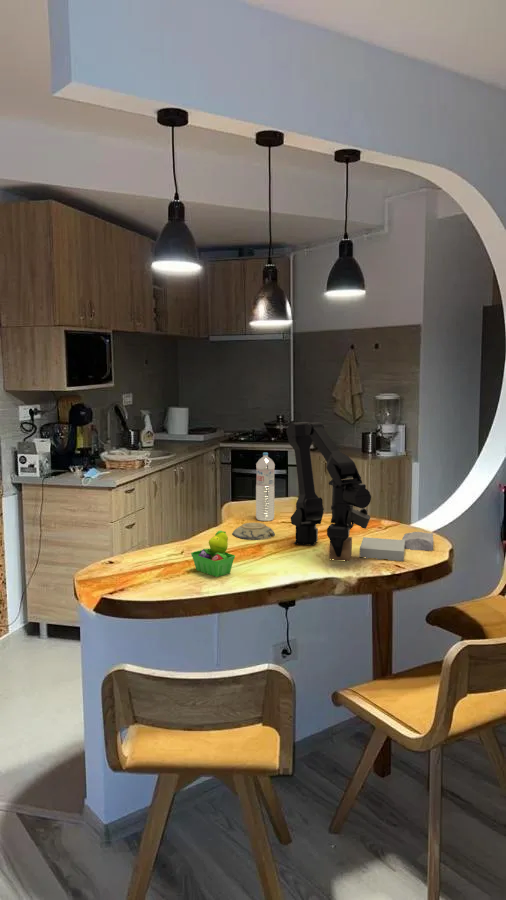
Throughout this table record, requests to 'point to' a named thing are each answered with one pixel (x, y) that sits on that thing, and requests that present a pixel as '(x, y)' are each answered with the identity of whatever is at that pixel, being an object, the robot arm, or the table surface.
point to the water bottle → (265, 489)
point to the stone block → (418, 541)
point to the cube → (345, 551)
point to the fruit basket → (214, 556)
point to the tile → (382, 548)
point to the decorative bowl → (253, 531)
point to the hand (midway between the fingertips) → (340, 552)
